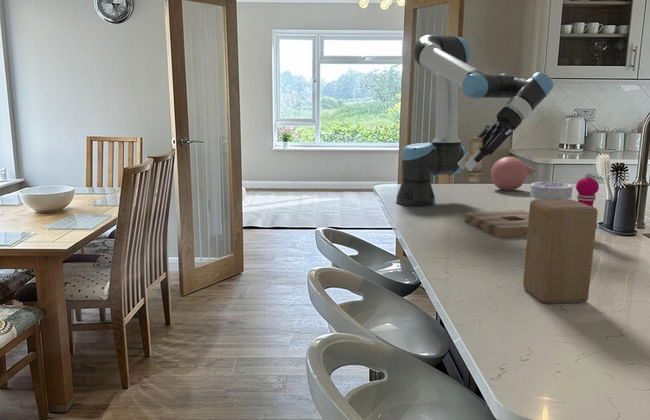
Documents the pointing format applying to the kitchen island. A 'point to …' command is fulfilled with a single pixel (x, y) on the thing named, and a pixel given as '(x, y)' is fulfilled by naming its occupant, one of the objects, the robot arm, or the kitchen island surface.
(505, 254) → the kitchen island surface
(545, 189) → the paper bowls
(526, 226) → the walnut board
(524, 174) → the balloon
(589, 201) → the pepper mill
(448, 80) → the robot arm
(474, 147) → the beech peg
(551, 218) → the wooden block
